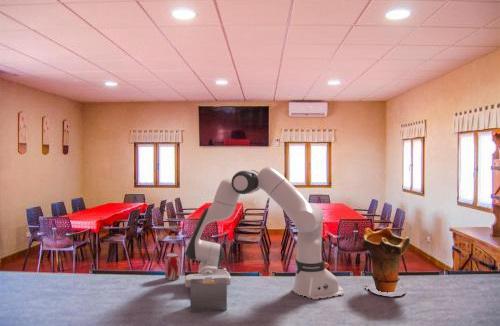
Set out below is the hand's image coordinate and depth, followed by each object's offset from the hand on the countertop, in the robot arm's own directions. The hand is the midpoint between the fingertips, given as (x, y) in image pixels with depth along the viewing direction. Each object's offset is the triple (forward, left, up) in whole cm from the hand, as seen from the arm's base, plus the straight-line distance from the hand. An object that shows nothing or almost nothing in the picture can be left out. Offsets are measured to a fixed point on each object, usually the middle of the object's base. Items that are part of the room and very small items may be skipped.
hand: (208, 286), depth 157 cm
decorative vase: (-80, +1, -5) cm, 80 cm away
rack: (0, +10, -5) cm, 11 cm away
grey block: (0, +6, -5) cm, 8 cm away
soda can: (+17, -26, -5) cm, 32 cm away
